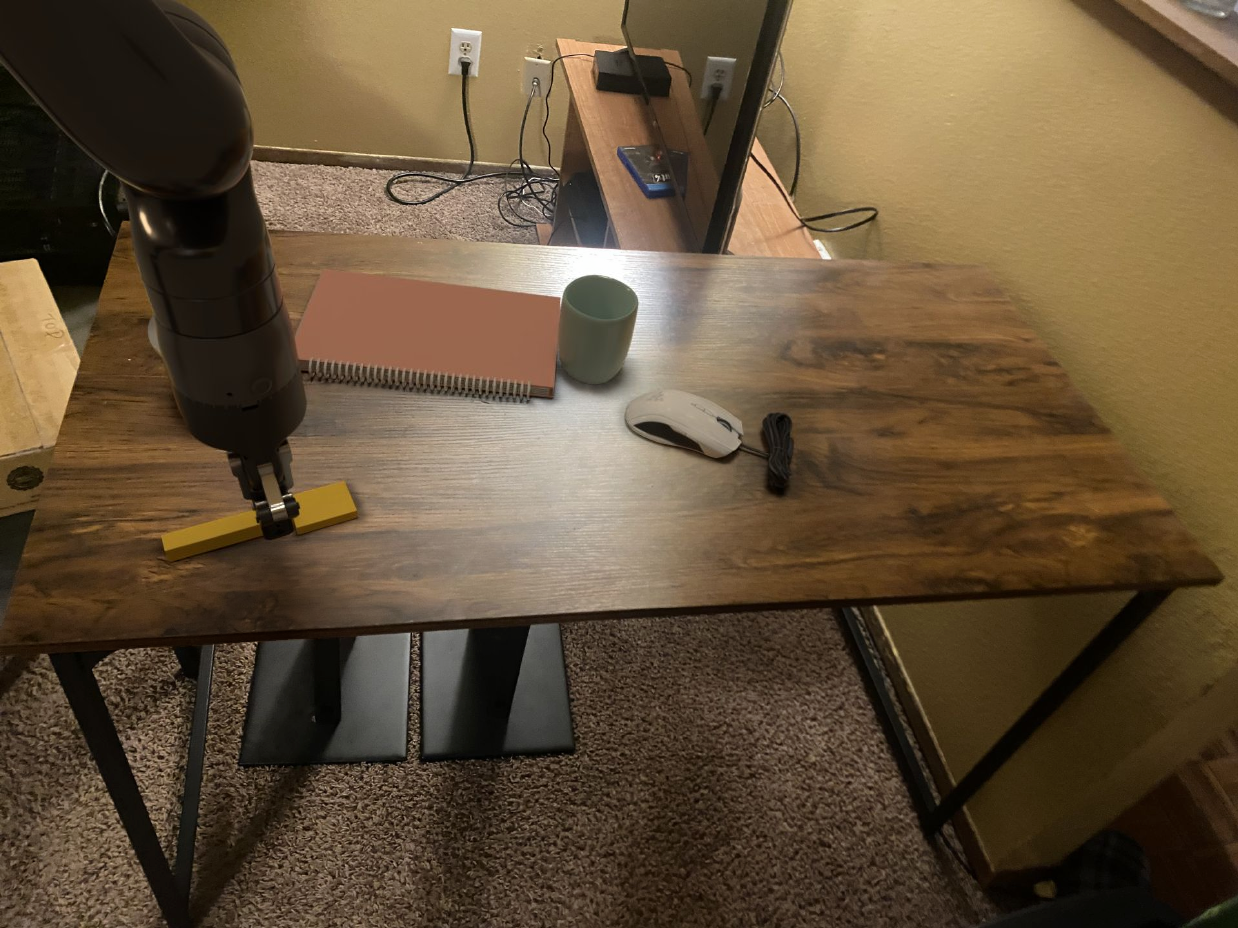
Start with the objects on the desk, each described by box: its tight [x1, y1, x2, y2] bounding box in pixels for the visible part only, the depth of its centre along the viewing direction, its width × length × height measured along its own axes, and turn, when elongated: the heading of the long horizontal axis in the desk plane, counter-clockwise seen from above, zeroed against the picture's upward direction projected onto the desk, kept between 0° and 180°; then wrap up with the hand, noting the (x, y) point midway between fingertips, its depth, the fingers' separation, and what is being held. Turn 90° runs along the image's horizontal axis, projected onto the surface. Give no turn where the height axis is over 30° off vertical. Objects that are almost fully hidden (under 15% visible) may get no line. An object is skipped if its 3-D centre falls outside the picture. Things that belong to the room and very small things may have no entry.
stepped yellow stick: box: [160, 480, 359, 563], centre depth 72 cm, size 15×4×2 cm, turn 119°
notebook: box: [294, 268, 562, 401], centre depth 91 cm, size 27×17×2 cm, turn 91°
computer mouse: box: [624, 388, 795, 489], centre depth 86 cm, size 10×18×4 cm, turn 75°
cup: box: [557, 274, 639, 385], centre depth 89 cm, size 8×8×10 cm
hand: (277, 530), depth 64 cm, fingers closed
